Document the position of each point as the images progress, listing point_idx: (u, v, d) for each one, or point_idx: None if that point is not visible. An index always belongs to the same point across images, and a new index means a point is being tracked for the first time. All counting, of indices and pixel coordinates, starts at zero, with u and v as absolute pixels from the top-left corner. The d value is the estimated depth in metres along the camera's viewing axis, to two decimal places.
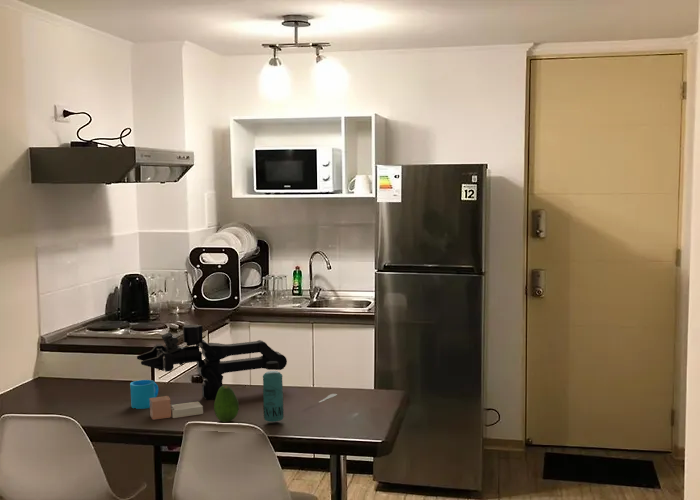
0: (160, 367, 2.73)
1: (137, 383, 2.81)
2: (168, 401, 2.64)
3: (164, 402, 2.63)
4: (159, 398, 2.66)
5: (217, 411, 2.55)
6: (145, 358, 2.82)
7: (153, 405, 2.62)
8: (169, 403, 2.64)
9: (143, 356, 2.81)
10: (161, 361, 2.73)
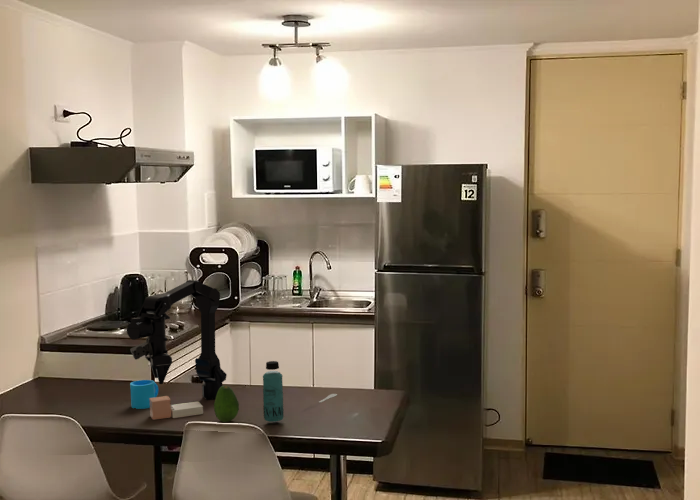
0: (167, 366, 2.59)
1: (137, 383, 2.81)
2: (168, 401, 2.64)
3: (164, 402, 2.63)
4: (159, 398, 2.66)
5: (217, 411, 2.55)
6: None
7: (153, 405, 2.62)
8: (169, 403, 2.64)
9: (155, 371, 2.69)
10: None
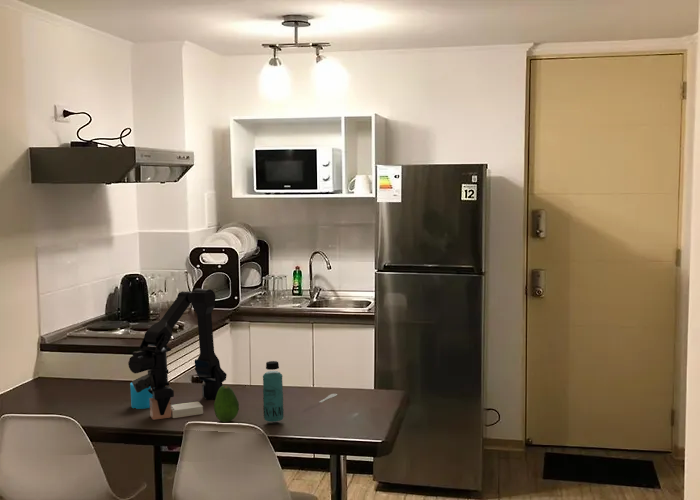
0: (168, 397, 2.62)
1: None
2: None
3: None
4: None
5: (217, 411, 2.55)
6: None
7: (153, 405, 2.62)
8: (169, 403, 2.64)
9: None
10: None
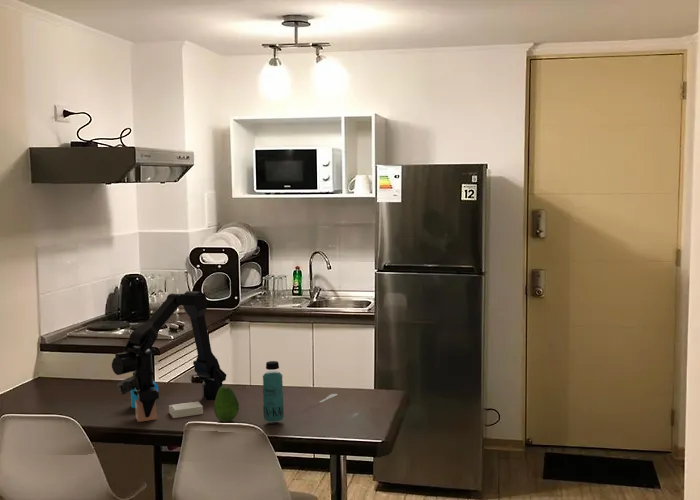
0: (153, 399, 2.60)
1: None
2: None
3: None
4: None
5: (217, 411, 2.55)
6: None
7: (138, 407, 2.60)
8: (154, 405, 2.62)
9: None
10: (146, 399, 2.59)
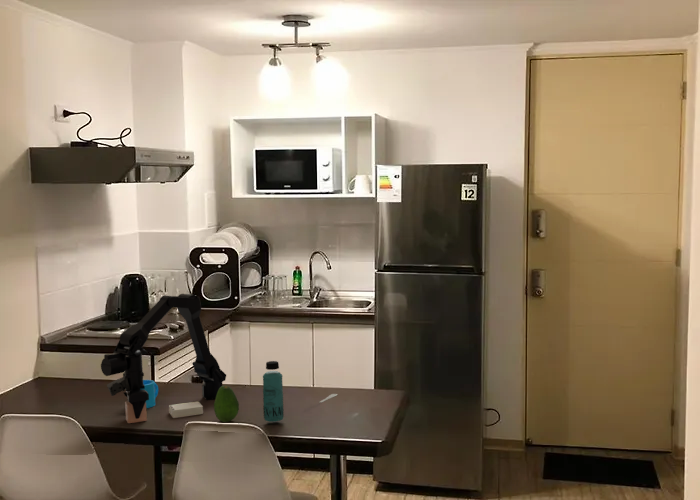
0: (143, 400, 2.58)
1: None
2: None
3: None
4: None
5: (217, 411, 2.55)
6: None
7: (128, 408, 2.59)
8: (145, 406, 2.61)
9: None
10: None
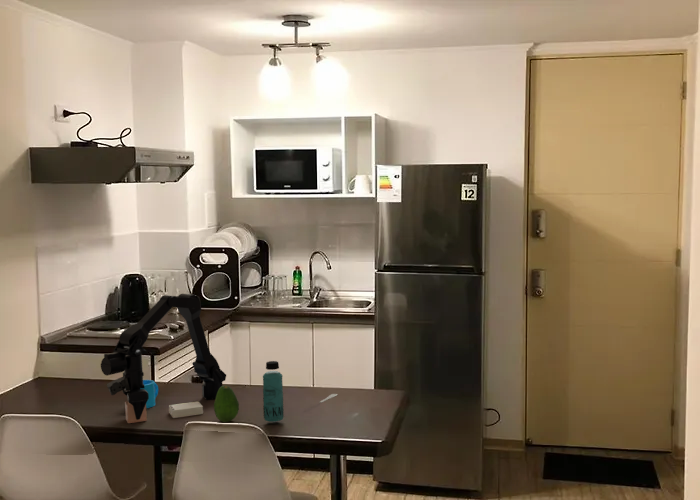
0: (144, 401, 2.57)
1: None
2: None
3: None
4: None
5: (217, 411, 2.55)
6: None
7: (128, 408, 2.59)
8: (145, 406, 2.61)
9: None
10: None
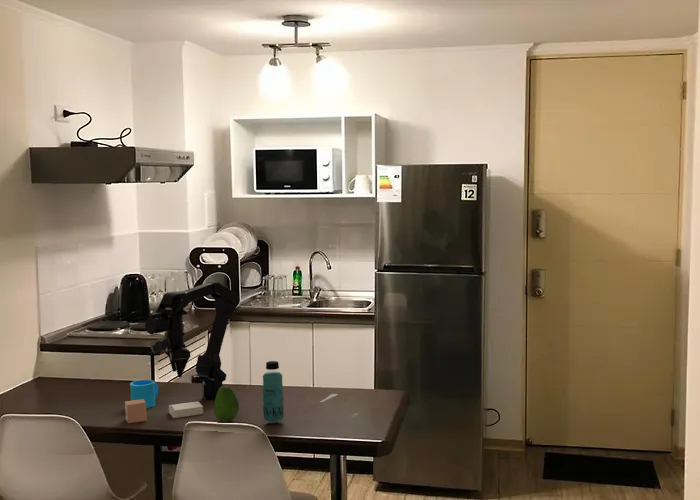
0: (185, 360, 2.68)
1: (137, 383, 2.81)
2: (143, 404, 2.61)
3: (139, 405, 2.60)
4: (135, 401, 2.62)
5: (217, 411, 2.55)
6: None
7: (128, 408, 2.59)
8: (145, 406, 2.61)
9: (173, 365, 2.78)
10: (179, 359, 2.67)
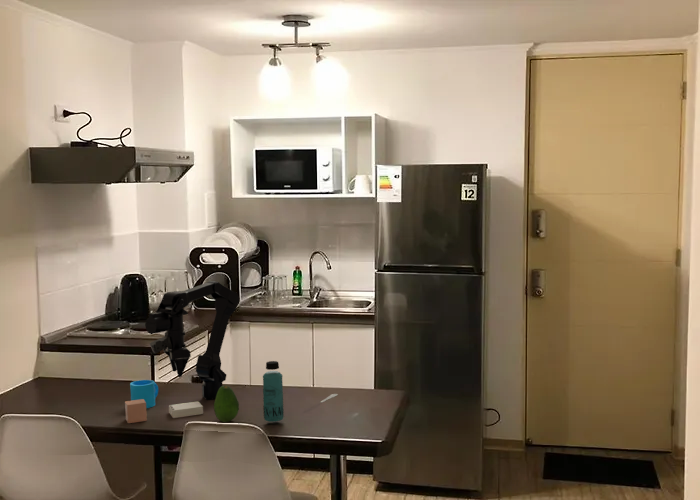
0: None
1: (137, 383, 2.81)
2: (143, 404, 2.61)
3: (139, 405, 2.60)
4: (135, 401, 2.62)
5: (217, 411, 2.55)
6: None
7: (128, 408, 2.59)
8: (145, 406, 2.61)
9: (173, 365, 2.78)
10: (179, 359, 2.67)
